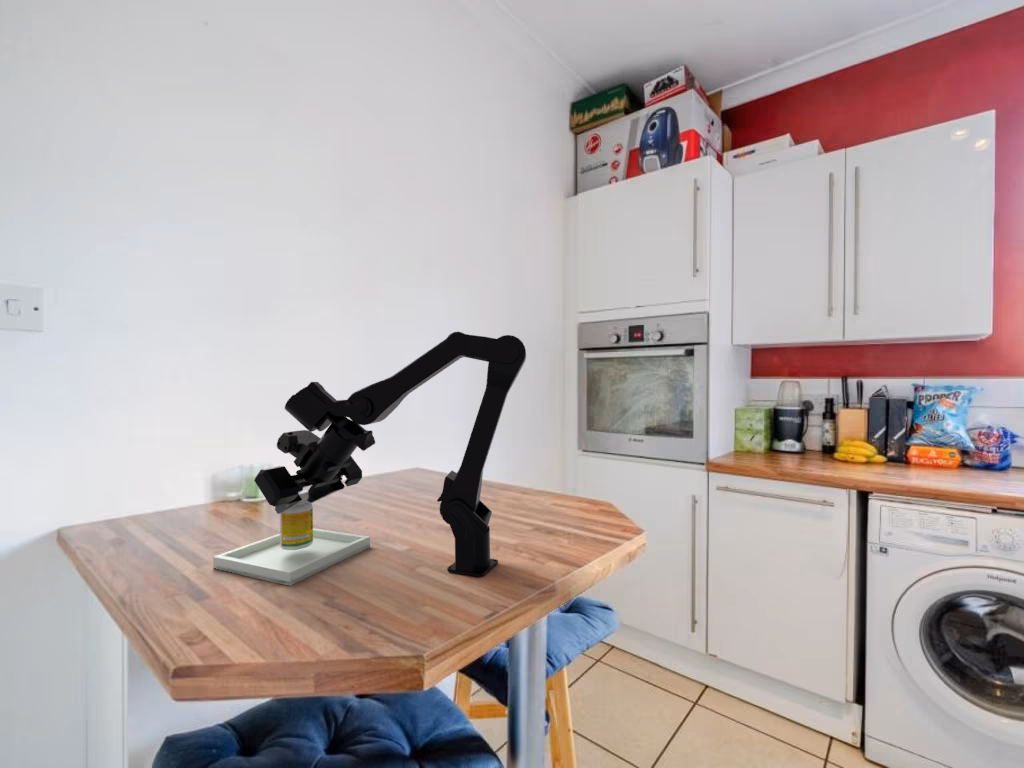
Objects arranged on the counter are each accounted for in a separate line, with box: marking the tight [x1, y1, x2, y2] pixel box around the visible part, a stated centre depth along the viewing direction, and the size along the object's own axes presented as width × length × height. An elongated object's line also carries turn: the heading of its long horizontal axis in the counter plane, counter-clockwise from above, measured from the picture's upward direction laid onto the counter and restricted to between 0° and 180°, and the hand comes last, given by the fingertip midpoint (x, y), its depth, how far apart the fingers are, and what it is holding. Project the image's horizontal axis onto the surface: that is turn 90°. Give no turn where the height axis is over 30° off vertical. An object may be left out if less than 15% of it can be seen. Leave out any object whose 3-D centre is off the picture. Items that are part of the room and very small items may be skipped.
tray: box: [212, 527, 371, 586], centre depth 82 cm, size 18×18×2 cm
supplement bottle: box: [279, 489, 314, 550], centre depth 82 cm, size 5×5×10 cm
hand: (291, 507), depth 82 cm, fingers closed on supplement bottle, 5 cm apart
